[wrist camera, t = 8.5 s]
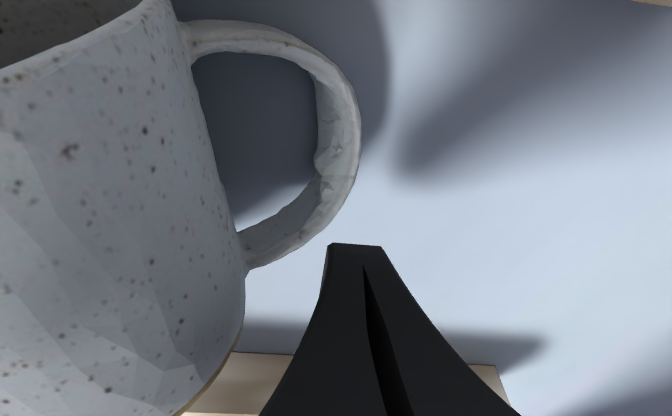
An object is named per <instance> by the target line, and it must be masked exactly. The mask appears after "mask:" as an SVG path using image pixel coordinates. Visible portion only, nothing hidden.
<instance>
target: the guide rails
mask: <svg viewBox="0 0 672 416" xmlns="http://www.w3.org/2000/svg"><path fill="white" fill-rule="evenodd" d="M629 1H635V2H642V3H648V4H654V5H661V6H667V7H672V0H629ZM293 357H294V355H275V354H256V353H236V352H231V354H230V356H229V358H228V360H227V362H226V364H225V366H224V367H223V369H222V371H221V372H220V374H219V375H218V376H217V378H216V379H215V380H214V382H213V383H212V384H211V386H210V387H209V388H208V389H207V390H206V391H205V392H204V393H203V395H202V396H201V397H200V398H199V399H198V400H197V401H196V402H195V403H194V404H193V405H192V406H191V407H190V408H189V409H188V410H187V411H186V412H184V413H183V414H182V415H181V416H258V415H259V414H260V412H261V411H262V409H263V408H264V406H265V405H266V403H267V402H268V400H269V398H270V397H271V395H272V394H273V392H274V391H275V389H276V387H277V385H278V384H279V382H280V380H281V379H282V377H283V375H284V373H285V371H286V370H287V368H288V366H289V364H290V362H291V361H292V359H293ZM467 365H468V364H467ZM468 366H469V367H470V368H471V369H472V370H473V371H474V372H475V373H476V374H477V375H478V376H479V377H480V378H481V379H482V380H483V381H484V382H485V383H486V384H487V385H488V386H489V387H490V388H491V389H492V390H493V391H494V392H495V393H497V394H498V395H499V396H500V397H501V398H502V399H503V400H504V401H505V402H506V403H507V404H508V405H509V406H510V403H509V400H508V398H507V395H506V393H505V390H504V388H503V385H502V382H501V380H500V377H499V375H498V372H497V369H496V367H495V366H488V365H468Z"/></svg>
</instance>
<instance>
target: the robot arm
mask: <svg viewBox="0 0 672 416" xmlns="http://www.w3.org/2000/svg"><path fill="white" fill-rule="evenodd" d="M258 416H521V415H520V414H519V413H517V412H516V411H515V410H514V409H513V408H512V407H511V406H509V405H508V404H507V403H506V402H505V401H504V400H503V399H502V398H501V397H500V396H499V395H498V394H497V393H495V392H494V391H493V390H492V389H491V388H490V387H489V386H488V385H487V384H486V383H485V382H484V381H483V380H482V379H481V378H480V377H479V376H478V375H477V374H476V373H475V372H474V371H473V370H472V369H471V368H470V367H469V366H468V365H467V364H466V363H465V362H464V361H463V359H462V358H461V357H460V356H459V355H458V354H457V353H456V352H455V351H454V349H453V348H452V347H451V346H450V345H449V343H448V342H447V341H446V340H445V339H444V337H443V336H442V335H441V334H440V332H439V331H438V330H437V329H436V327H435V326H434V325H433V324H432V322H431V321H430V320H429V318H428V317H427V316H426V314H425V313H424V311H423V310H422V309H421V307H420V306H419V304H418V303H417V302H416V300H415V299H414V297H413V296H412V294H411V293H410V291H409V290H408V288H407V287H406V285H405V284H404V282H403V281H402V279H401V278H400V276H399V274H398V273H397V271H396V270H395V268H394V266H393V265H392V263H391V261H390V260H389V258H388V256H387V255H386V253H385V251H384V250H383V249H382V247H381V246H370V245H357V244H345V243H331V244H330V245H328V246H327V252H326V258H325V264H324V270H323V276H322V282H321V288H320V294H319V299H318V302H317V305H316V307H315V310H314V312H313V315H312V317H311V320H310V322H309V325H308V327H307V330H306V332H305V334H304V336H303V338H302V341H301V343H300V345H299V347H298V349H297V351H296V353H295V355H294V357H293V359H292V361H291V362H290V364H289V366H288V368H287V370H286V371H285V373H284V375H283V377H282V379H281V380H280V382H279V384H278V385H277V387H276V389H275V391H274V392H273V394H272V395H271V397H270V398H269V400H268V402H267V403H266V405H265V406H264V408H263V409H262V411H261V412H260V414H259V415H258Z"/></svg>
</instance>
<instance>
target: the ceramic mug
mask: <svg viewBox="0 0 672 416" xmlns="http://www.w3.org/2000/svg"><path fill="white" fill-rule="evenodd" d="M224 51H231V52H236V53H253V54H261V55H268V56H276V57H281V58H284V59H287V60H289V61H292V62H295V63H296V64H298V65H299V66H300V67H302V68H303V69H305V70H307V71H308V73H309V75H310V76H311V78H312V79H313V81H314V86H315V95H316V109H317V121H318V145H317V149H316V152H315V154H314V157H313V160H314V164H315V168H316V169H317V171H316V173H315V175H314V177H313V179H312V180H311V182H310V183H309V184H308V185H307V187H306V188H305V189H304V190H303V191H302V193H301V194H300V195H299V196H298V197H297V198H296V199H295V200H294V201H292V202H291V203H290V204H289V205H287V206H285V207H283V208H282V209H281V210H280V211H279V212H278V213H277V214H276V215H273V216H271V217H269V218H267V219H265V220H263V221H261V222H260V223H258V224H256V225H253V226H250V227H248V228H246V229H244V230H241V231H239V232H236V228H235V225H234V222H233V218H232V215H231V212H230V208H229V205H228V202H227V198H226V193H225V189H224V185H223V184H222V183H221V182H220V179H219V175H218V170H217V167H216V162H215V157H214V152H213V148H212V144H211V141H210V137H209V133H208V129H207V125H206V122H205V117H204V114H203V111H202V109H201V106H200V101H199V95H198V91H197V88H196V86H195V83H194V80H193V75H192V71H191V65H192V64H193V63H194V62H195V61H196V60H197V59H198V58H199V57H201V56H204V55H207V54H210V53H214V52H224ZM361 150H362V130H361V116H360V111H359V107H358V103H357V99H356V95H355V92H354V89H353V87H352V85H351V84H350V83H349V81H348V80H347V79H346V77H345V76H344V74H343V73H342V72H341V70H340V69H339V67H338V66H337V64H335V63H334V62H332V61H331V60H329V59H328V58H327V57H326V56H324V55H323V54H322V53H321V52H319V51H318V50H317V49H315V48H313V47H312V46H310V45H308V44H306V43H304V42H303V41H301V40H300V39H298V38H296V37H295V36H293V35H291V34H289V33H286V32H284V31H282V30H279V29H277V28H274V27H271V26H267V25H264V24H261V23H255V22H247V21H239V20H213V19H200V20H193V21H187V22H181V21H178V20H177V18H176V15H175V12H174V10H173V7H172V4H171V1H170V0H0V416H181V415H182V414H183V413H184V412H186V411H187V410H188V409H189V408H190V407H191V406H192V405H193V404H194V403H195V402H196V401H197V400H198V399H199V398H200V397H201V396H202V395H203V393H204V392H205V391H206V390H207V389H208V388H209V387H210V386H211V384H212V383H213V382H214V380H215V379H216V378H217V376H218V375H219V374H220V372H221V371H222V369H223V367H224V366H225V364H226V362H227V360H228V358H229V356H230V354H231V352H232V351H233V349H234V347H235V345H236V343H237V341H238V338H239V335H240V332H241V329H242V324H243V319H244V314H245V278H246V276H247V274H248V272H249V271H250V270H252V269H254V268H257V267H261V266H265V265H267V264H269V263H271V262H273V261H276V260H278V259H280V258H283V257H284V256H286V255H287V254H289V253H291V252H293V251H295V250H297V249H298V248H300V247H302V246H303V245H304V244H306V243H307V242H308V241H309V240H311V239H312V238H313V237H314V236H315V235H317V234H318V233H319V232H321V231H322V230H323V229H325V228H326V227H327V226H328V224H329V223H330V222H331V221H332V220H333V218H334V217H335V215H336V214H337V212H338V211H339V210H340V208H341V207H342V205H343V204H344V202H345V200H346V198H347V196H348V194H349V193H350V191H351V189H352V187H353V185H354V182H355V178H356V175H357V171H358V167H359V160H360V156H361Z"/></svg>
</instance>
